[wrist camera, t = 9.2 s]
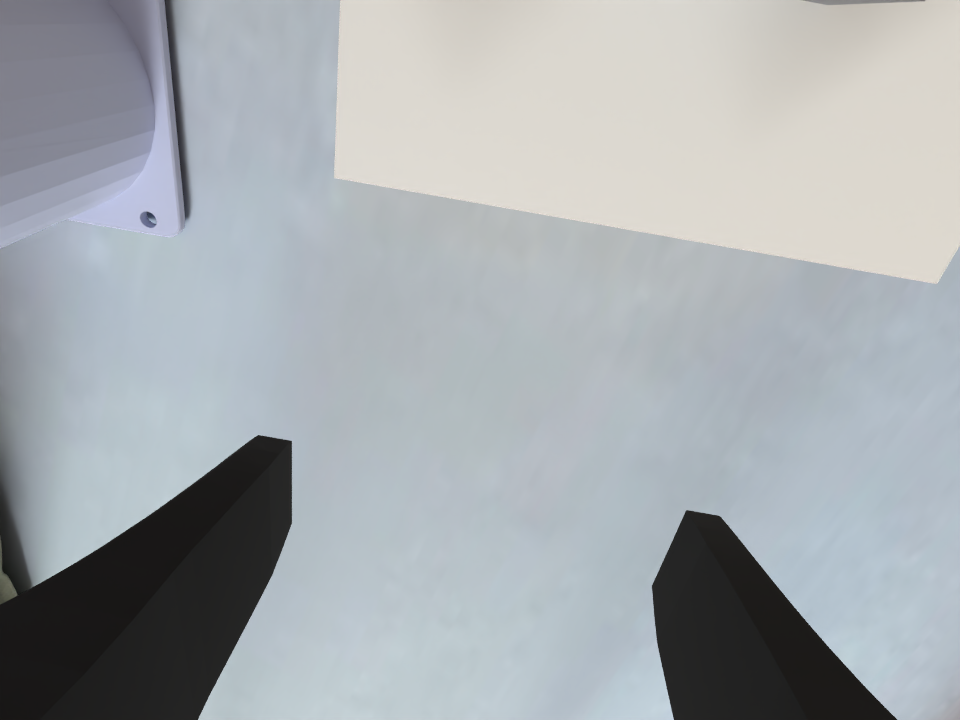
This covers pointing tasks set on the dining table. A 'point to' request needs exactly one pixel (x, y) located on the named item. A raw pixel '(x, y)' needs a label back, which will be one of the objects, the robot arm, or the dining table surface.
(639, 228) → the stand base
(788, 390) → the dining table surface
